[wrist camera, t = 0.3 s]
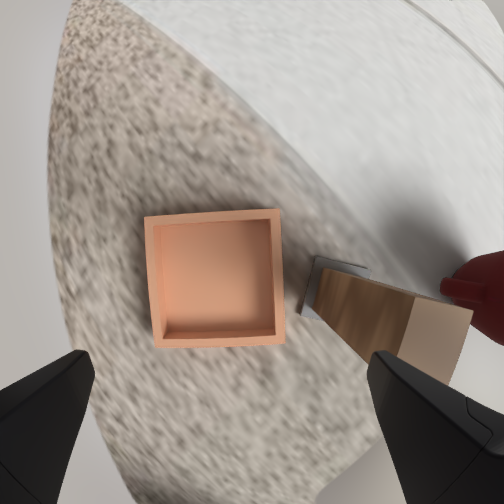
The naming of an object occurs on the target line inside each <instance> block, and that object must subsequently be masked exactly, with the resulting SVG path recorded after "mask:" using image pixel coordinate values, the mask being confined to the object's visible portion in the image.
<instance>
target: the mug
mask: <svg viewBox="0 0 504 504" xmlns="http://www.w3.org/2000/svg"><path fill="white" fill-rule="evenodd" d="M440 292H441V294H442V295H444V296H448V297H451V298H452V301H453V303H454V305H456V306H460V307H463V308H466V309H469V310H473V315H472V319H471V322H470V324H471V325H472V326H473V327H475V328H476V329H478V330H479V331H480V332H482V333H483V334H485V335H486V336H487V337H489V338H490V339H491V340H493V341H495V342H496V343H498V344H500V345H503V346H504V251H499V252H495V253H490V254H486V255H481V256H478V257H475V258H473V259H471V260H470V261H468V262H467V263H466V264H464V265H463V266H462V267H461V268H460V269H458V270H457V272H456V273H455V274H454V276H453V278H447V277H445V278H443V279H442V281H441V284H440Z"/></svg>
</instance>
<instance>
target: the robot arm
mask: <svg viewBox="0 0 504 504" xmlns="http://www.w3.org/2000/svg"><path fill="white" fill-rule="evenodd" d="M94 378H95V371H94V367H93V365H92V362H91V359H90V356H89V353H88V352H87V351H85V350H74V351H72V352H70V353H68V354H67V355H65V356H63V357H61V358H59V359H57V360H56V361H54V362H52V363H50V364H48V365H46V366H44V367H43V368H41V369H39V370H37V371H35V372H33V373H32V374H30V375H28V376H26V377H24V378H22V379H20V380H19V381H17V382H15V383H13V384H11V385H9V386H8V387H6V388H4V389H2V390H0V504H57V500H58V497H59V493H60V490H61V486H62V483H63V479H64V476H65V472H66V469H67V466H68V462H69V459H70V456H71V453H72V450H73V447H74V444H75V441H76V438H77V435H78V432H79V429H80V427H81V424H82V421H83V418H84V415H85V412H86V408H87V404H88V400H89V396H90V393H91V389H92V385H93V381H94ZM367 380H368V384H369V387H370V391H371V395H372V399H373V404H374V408H375V412H376V415H377V418H378V421H379V424H380V427H381V430H382V432H383V435H384V438H385V441H386V443H387V446H388V449H389V452H390V455H391V458H392V460H393V463H394V466H395V469H396V472H397V475H398V478H399V481H400V484H401V487H402V490H403V493H404V496H405V500H406V503H407V504H504V415H503V414H501V413H498V412H496V411H494V410H492V409H490V408H488V407H485V406H484V405H482V404H480V403H478V402H476V401H474V400H473V399H471V398H469V397H465V395H463V394H462V393H460V392H458V391H456V390H455V389H453V388H451V387H449V386H447V385H446V384H444V383H442V382H440V381H439V380H437V379H435V378H433V377H431V376H430V375H428V374H426V373H424V372H423V371H421V370H419V369H417V368H416V367H414V366H412V365H410V364H409V363H407V362H405V361H403V360H402V359H400V358H398V357H396V356H395V355H393V354H391V353H390V352H388V351H386V350H380V351H374V352H373V353H372V355H371V358H370V362H369V366H368V369H367Z"/></svg>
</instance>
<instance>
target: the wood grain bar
mask: <svg viewBox="0 0 504 504" xmlns="http://www.w3.org/2000/svg"><path fill="white" fill-rule="evenodd" d="M370 273H371V270H368V269H365V268H361V267H357V266H353V265H349V264H345V263H342V262H338V261H334V260H330V259H326V258H322V257H318V256H315V259H314V263H313V267H312V271H311V274H310V278H309V282H308V286H307V290H306V293H305V297H304V301H303V304H302V308H301V312H300V316H303V317H308V318H313V319H317V320H322V321H325V322H326V323H327V324H328V325H329V326H330V327H331V328H332V329H333V330H334V331H335V332H336V333H337V334H338V335H339V336H340V337H341V338H342V339H343V340H344V341H345V342H346V343H347V344H348V345H349V346H350V347H351V348H352V349H353V350H354V351H355V352H356V353H357V354H358V355H359V356H360V357H361V358H362V359H363V360H364V361H365V362H366V363H367V364H368V365H369V362H370V358H371V355H372V353H373V352H374V351H380V350H386V351H388V352H390V353H391V354H393V355H395V356H396V357H398V358H400V359H402V360H403V361H405V362H407V363H409V364H410V365H412V366H414V367H416V368H417V369H419V370H421V371H423V372H424V373H426V374H428V375H430V376H431V377H433V378H435V379H437V380H439V381H440V382H442V383H444V384H446V385H447V386H448V384H449V382H450V379H451V377H452V375H453V372H454V369H455V367H456V364H457V361H458V359H459V356H460V353H461V350H462V347H463V344H464V341H465V338H466V335H467V332H468V329H469V325H470V322H471V319H472V315H473V310H469V309H466V308H463V307H460V306H456V305H453V304H450V303H446V302H443V301H440V300H437V299H433V298H430V297H427V296H423V295H420V294H417V293H413V292H410V291H407V290H403V289H400V288H397V287H393V286H390V285H387V284H383V283H380V282H377V281H373V280H370V279H369V277H370Z"/></svg>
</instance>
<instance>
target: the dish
mask: <svg viewBox="0 0 504 504" xmlns="http://www.w3.org/2000/svg"><path fill="white" fill-rule="evenodd" d="M144 226H145V248H146V264H147V278H148V290H149V300H150V310H151V319H152V327H153V335H154V343H155V348H204V347H235V346H254V345H270V344H283V343H285V313H284V286H283V263H282V242H281V224H280V208H279V209H256V210H236V211H219V212H203V213H188V214H174V215H162V216H149V217H144Z"/></svg>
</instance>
